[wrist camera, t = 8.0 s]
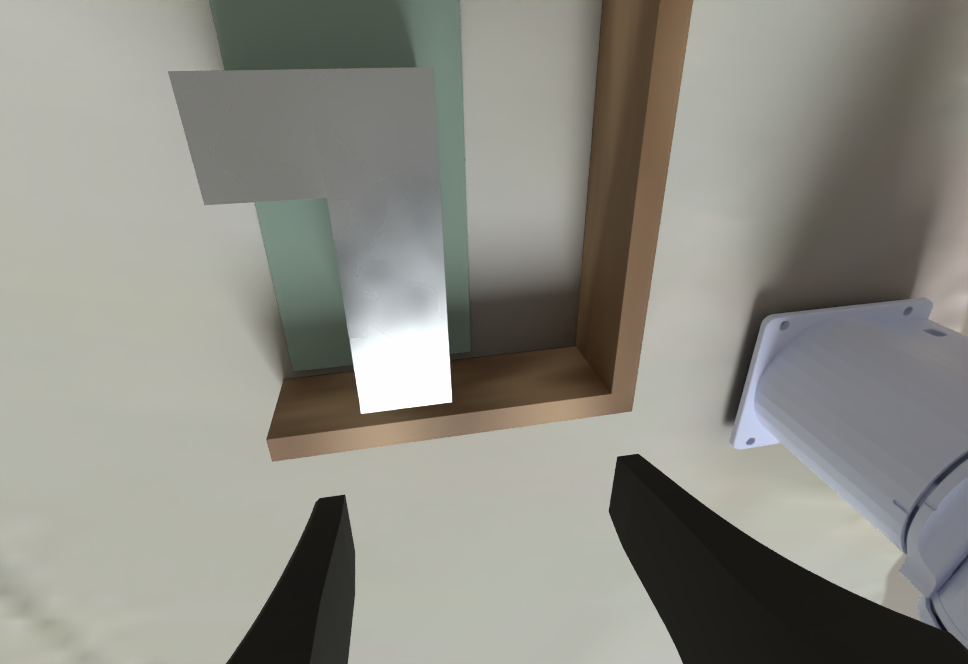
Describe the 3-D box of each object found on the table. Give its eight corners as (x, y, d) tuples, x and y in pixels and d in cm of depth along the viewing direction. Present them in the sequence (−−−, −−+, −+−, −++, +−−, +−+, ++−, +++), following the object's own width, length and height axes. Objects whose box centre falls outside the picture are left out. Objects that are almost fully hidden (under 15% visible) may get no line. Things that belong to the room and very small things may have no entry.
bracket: (435, 334, 21) (452, 401, 17) (287, 350, 20) (265, 426, 16) (417, 69, 17) (433, 67, 12) (224, 72, 16) (168, 71, 11)
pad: (458, 0, 16) (459, -2, 16) (469, 348, 22) (471, 351, 22) (211, -2, 15) (208, -4, 15) (293, 367, 21) (292, 371, 21)
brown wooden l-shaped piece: (635, -53, 17) (706, -87, 13) (593, 362, 24) (632, 411, 20) (178, -66, 14) (115, -111, 11) (288, 398, 22) (272, 461, 18)
